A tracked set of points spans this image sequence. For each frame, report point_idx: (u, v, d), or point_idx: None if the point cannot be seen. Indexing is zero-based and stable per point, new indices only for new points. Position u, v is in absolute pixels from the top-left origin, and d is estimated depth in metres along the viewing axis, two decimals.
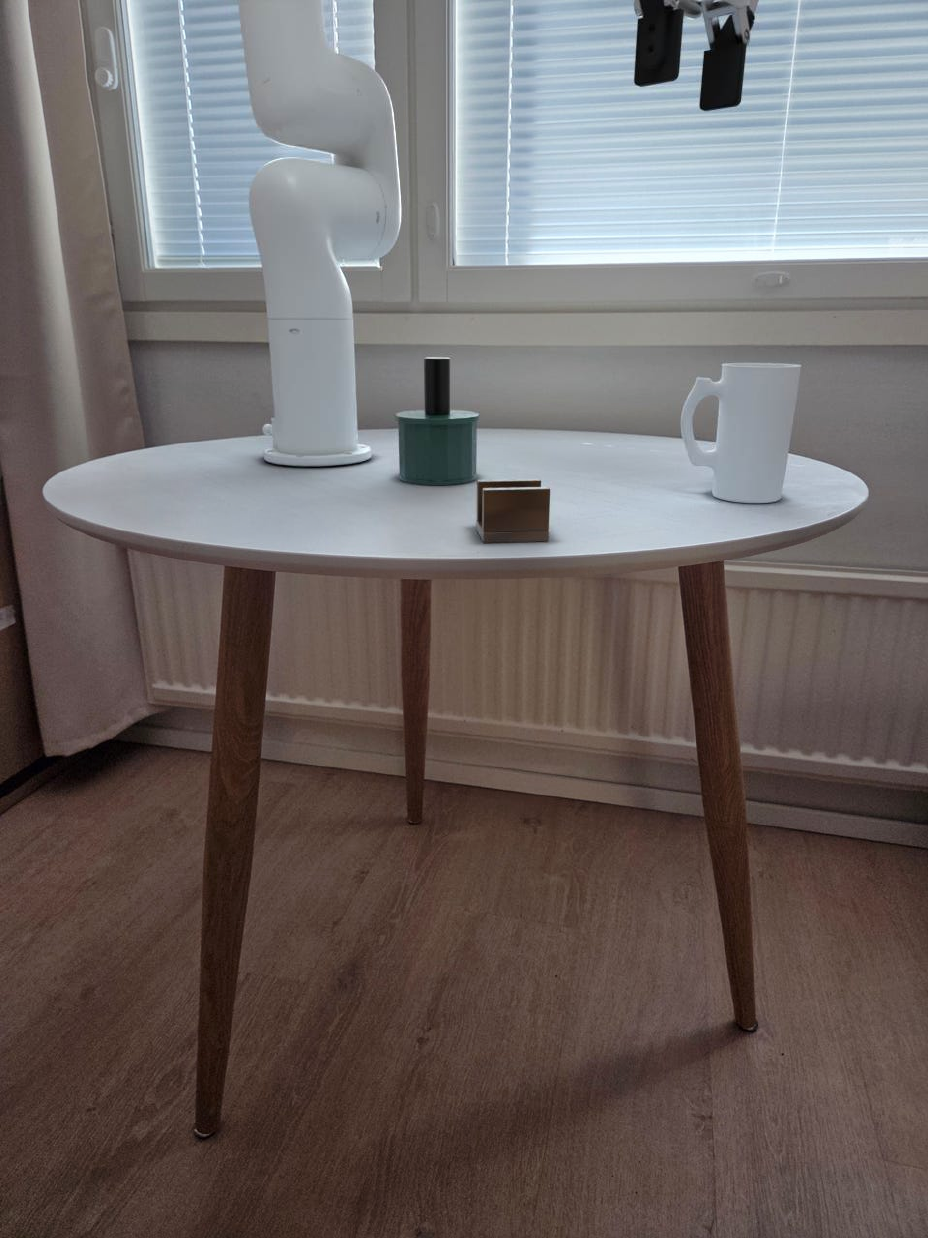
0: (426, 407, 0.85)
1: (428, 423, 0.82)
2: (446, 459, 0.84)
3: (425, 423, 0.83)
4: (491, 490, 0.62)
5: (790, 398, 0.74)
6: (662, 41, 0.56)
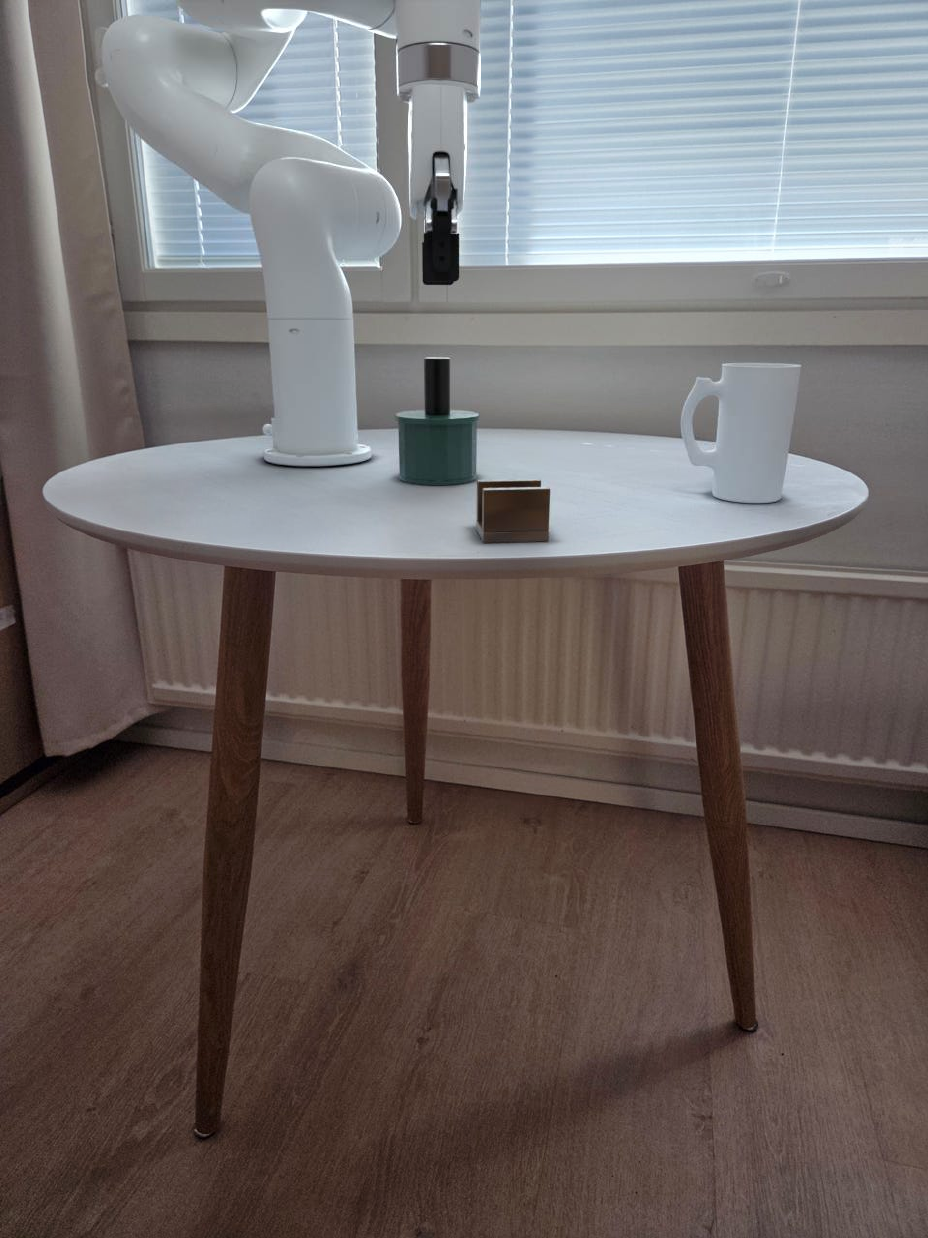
0: (426, 407, 0.85)
1: (428, 423, 0.82)
2: (446, 459, 0.84)
3: (425, 423, 0.83)
4: (491, 490, 0.62)
5: (790, 398, 0.74)
6: (450, 255, 0.76)
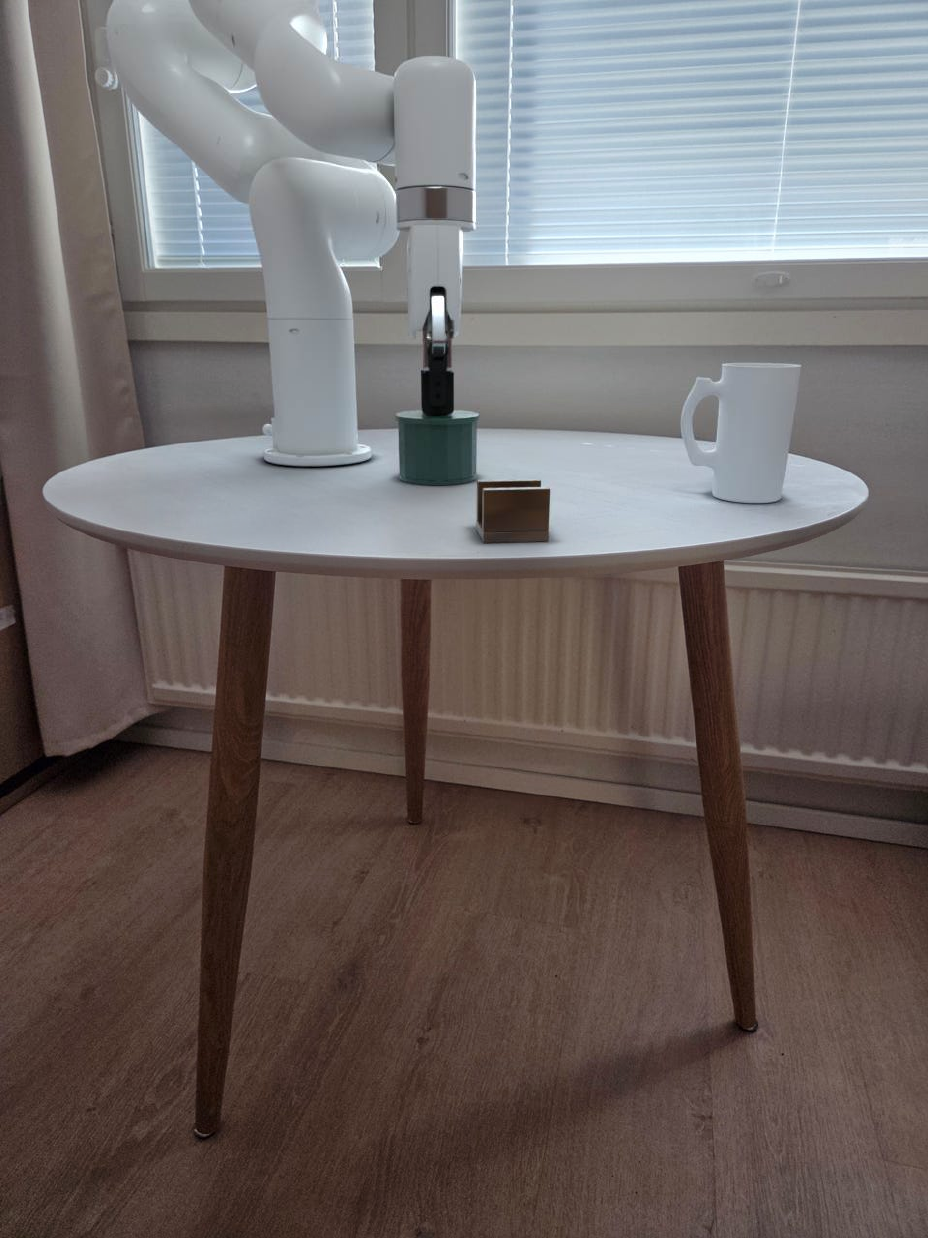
0: None
1: (428, 423, 0.82)
2: (446, 459, 0.84)
3: (425, 423, 0.83)
4: (491, 490, 0.62)
5: (790, 398, 0.74)
6: (446, 392, 0.83)
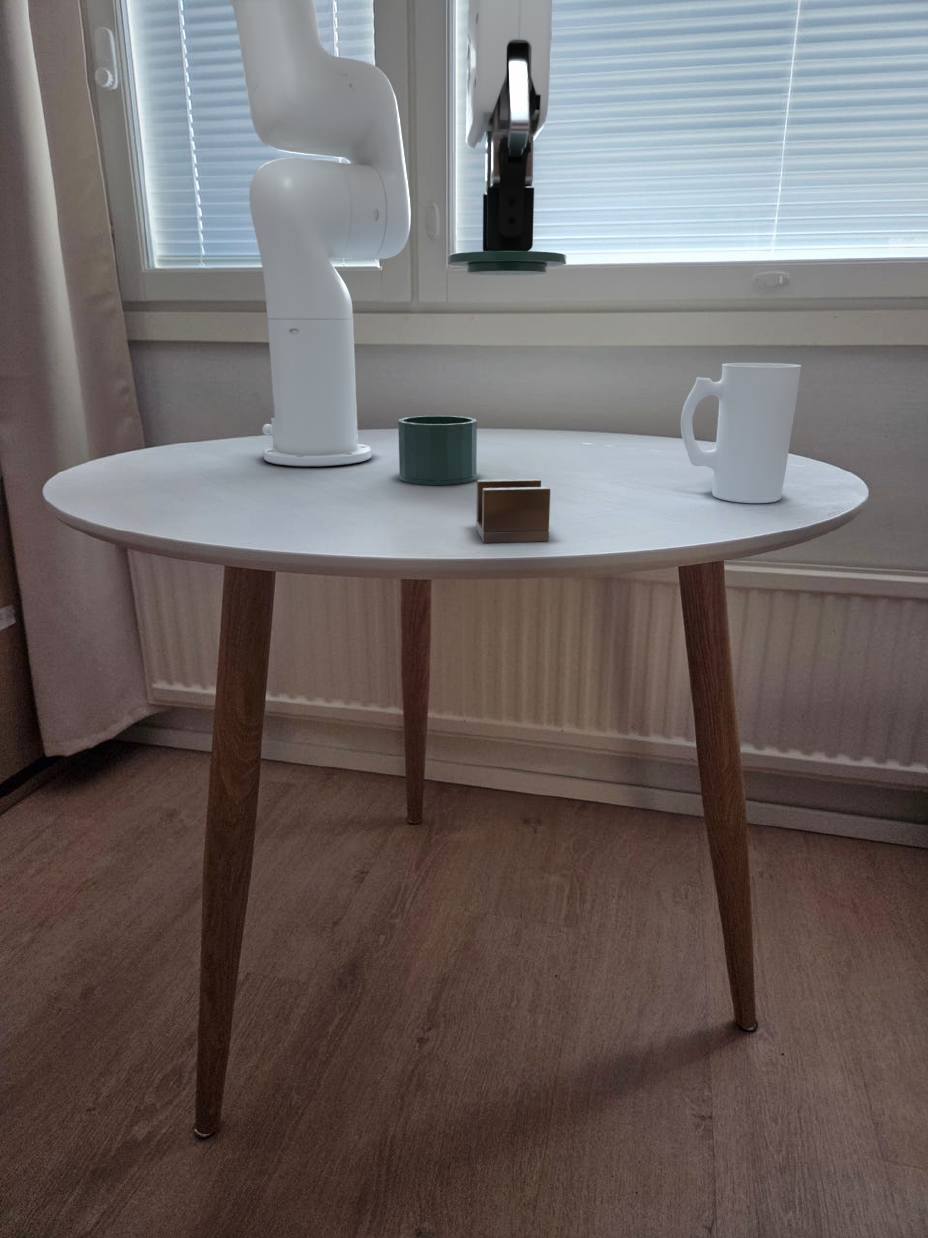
0: None
1: (499, 258, 0.57)
2: (446, 459, 0.84)
3: (494, 258, 0.57)
4: (491, 490, 0.62)
5: (790, 398, 0.74)
6: (523, 216, 0.58)
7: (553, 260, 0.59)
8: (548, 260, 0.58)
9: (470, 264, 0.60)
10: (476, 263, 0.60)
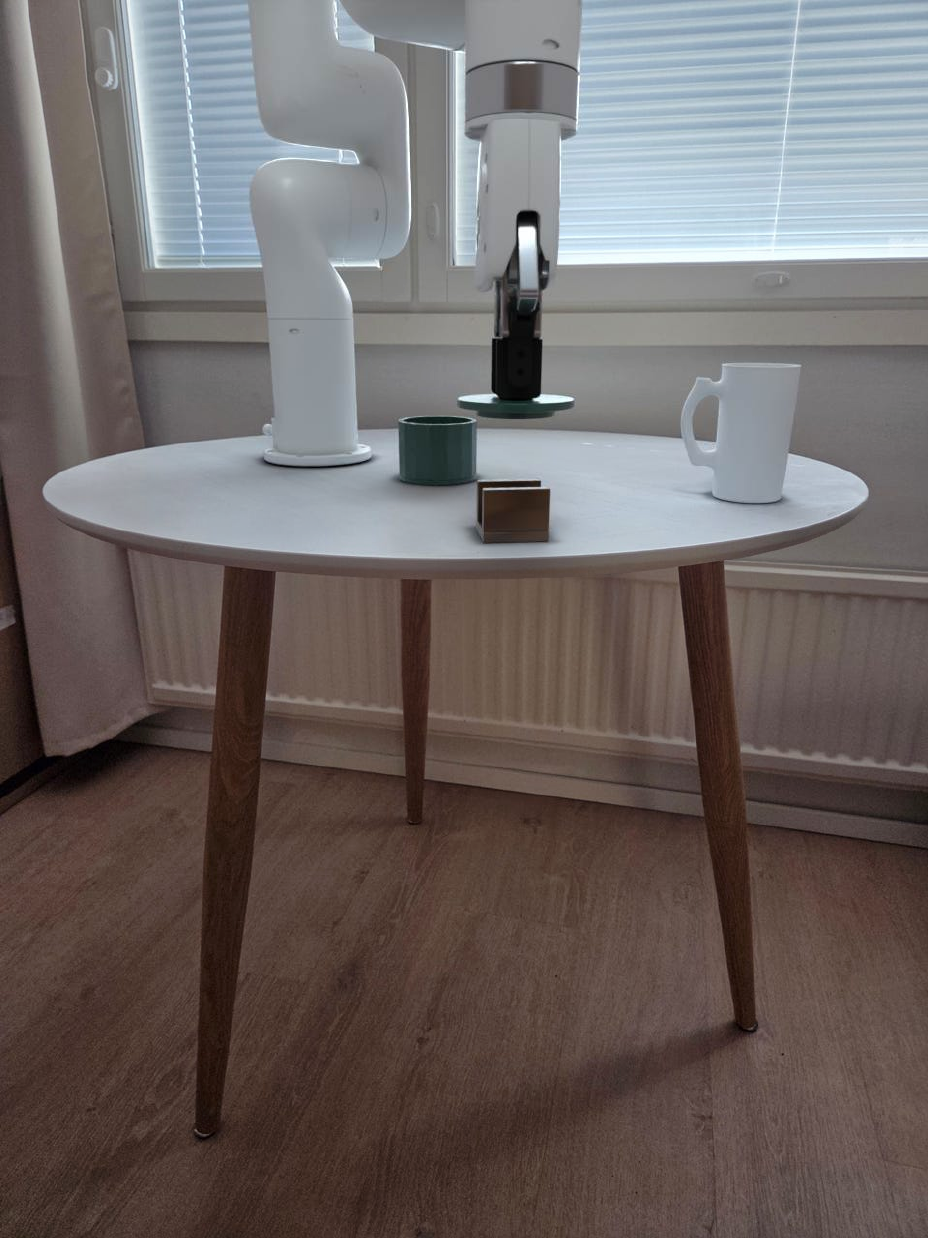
0: None
1: (508, 410, 0.58)
2: (446, 459, 0.84)
3: (503, 410, 0.58)
4: (491, 490, 0.62)
5: (790, 398, 0.74)
6: (531, 367, 0.59)
7: (561, 409, 0.59)
8: (556, 410, 0.59)
9: None
10: None
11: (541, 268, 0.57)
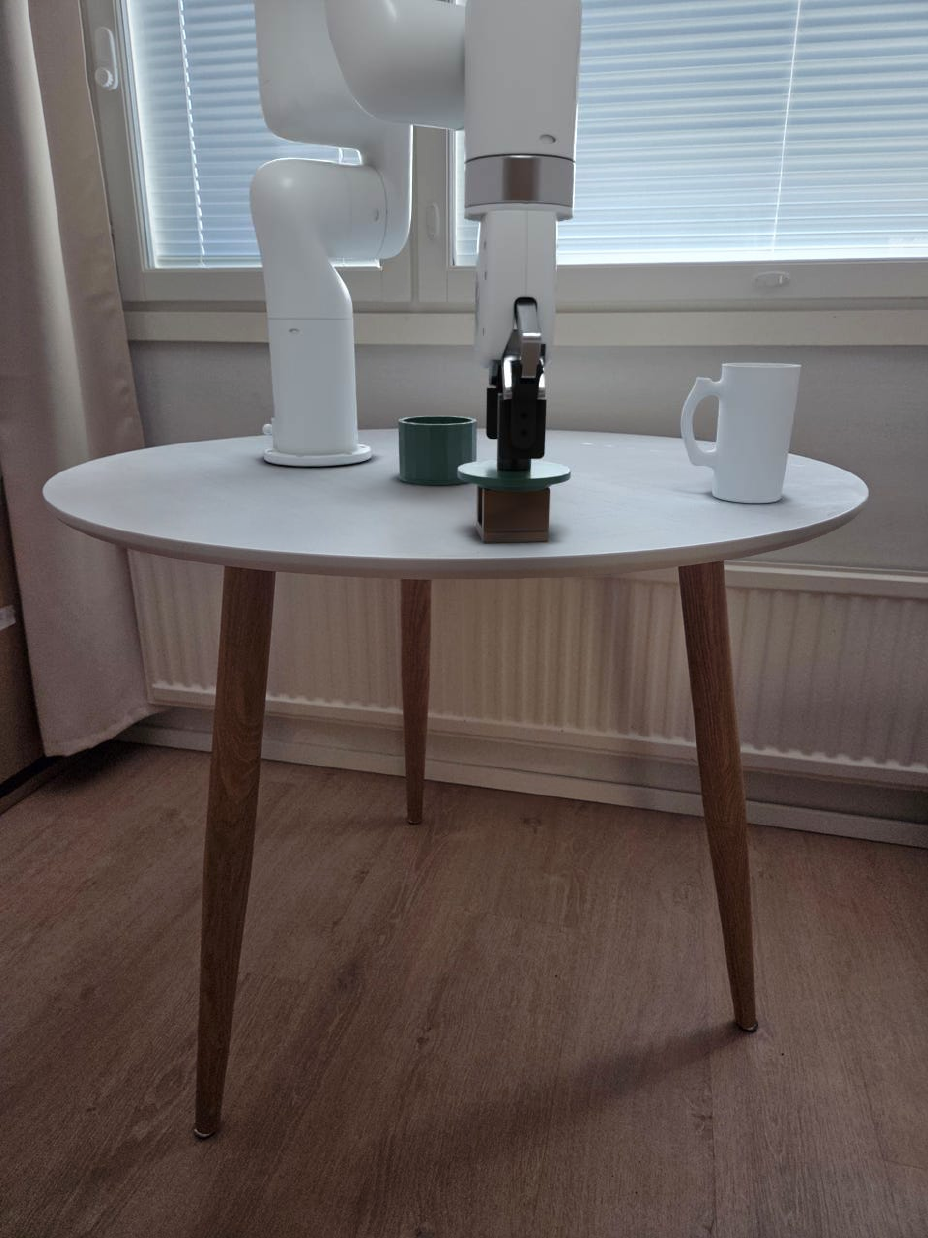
0: (500, 460, 0.63)
1: (506, 485, 0.60)
2: (446, 459, 0.84)
3: (502, 484, 0.60)
4: (491, 490, 0.62)
5: (790, 398, 0.74)
6: (535, 428, 0.57)
7: (558, 482, 0.61)
8: (553, 483, 0.61)
9: None
10: None
11: None
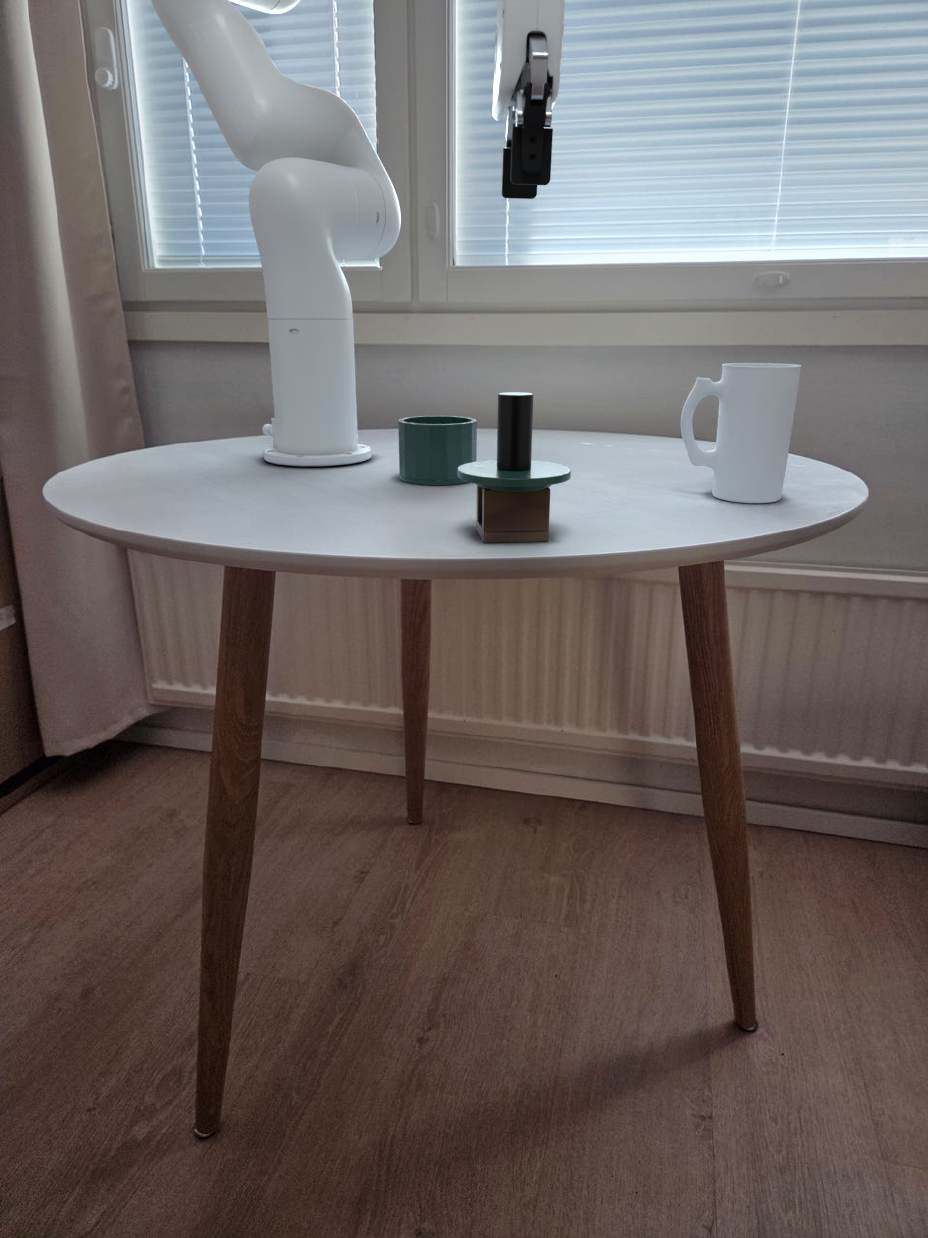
0: (500, 460, 0.63)
1: (506, 485, 0.60)
2: (446, 459, 0.84)
3: (502, 484, 0.60)
4: (491, 490, 0.62)
5: (790, 398, 0.74)
6: (542, 153, 0.67)
7: (558, 482, 0.61)
8: (553, 483, 0.61)
9: None
10: None
11: None
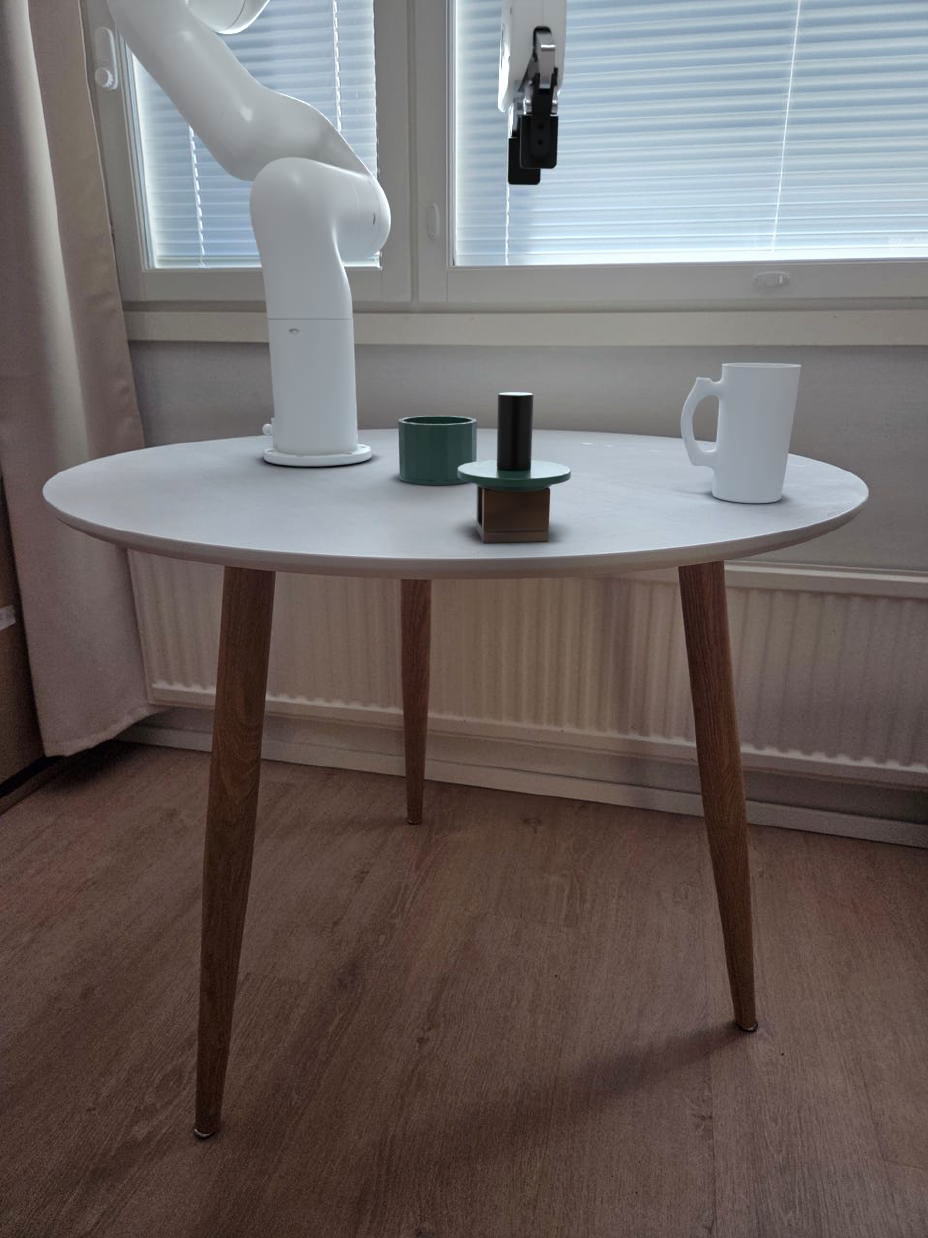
0: (500, 460, 0.63)
1: (506, 485, 0.60)
2: (446, 459, 0.84)
3: (502, 484, 0.60)
4: (491, 490, 0.62)
5: (790, 398, 0.74)
6: (549, 138, 0.72)
7: (558, 482, 0.61)
8: (553, 483, 0.61)
9: None
10: None
11: None
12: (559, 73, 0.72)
